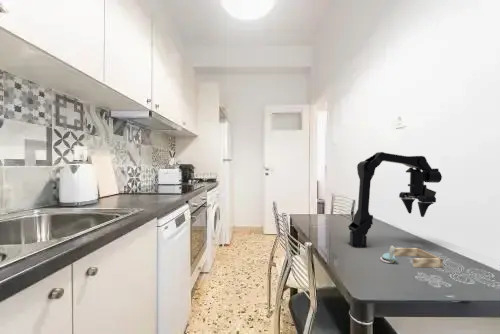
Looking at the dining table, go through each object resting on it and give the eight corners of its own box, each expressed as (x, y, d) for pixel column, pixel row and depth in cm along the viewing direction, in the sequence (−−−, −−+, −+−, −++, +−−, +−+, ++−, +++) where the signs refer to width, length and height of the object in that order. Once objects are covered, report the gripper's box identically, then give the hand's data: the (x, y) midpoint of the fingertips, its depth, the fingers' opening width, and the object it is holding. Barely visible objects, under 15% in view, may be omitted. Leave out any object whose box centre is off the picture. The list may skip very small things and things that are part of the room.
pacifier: (383, 264, 108) (400, 264, 107) (383, 248, 108) (399, 248, 107) (377, 258, 115) (393, 258, 114) (377, 242, 115) (393, 243, 114)
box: (414, 267, 104) (414, 259, 104) (393, 255, 118) (393, 248, 118) (442, 267, 105) (442, 259, 105) (417, 255, 119) (418, 248, 119)
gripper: (448, 184, 125) (447, 219, 125) (420, 181, 143) (419, 211, 143) (424, 183, 124) (423, 218, 124) (398, 181, 142) (398, 211, 143)
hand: (415, 215), depth 133 cm, fingers open, 9 cm apart
